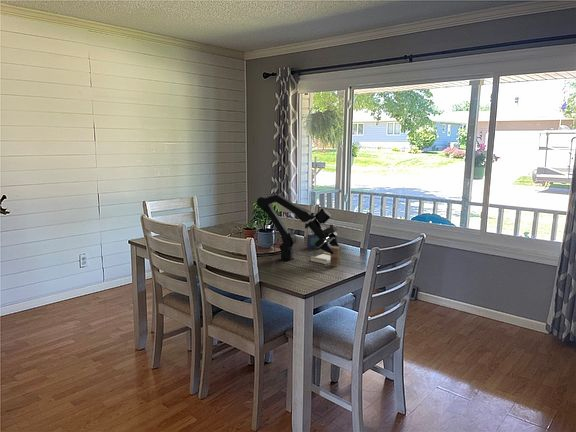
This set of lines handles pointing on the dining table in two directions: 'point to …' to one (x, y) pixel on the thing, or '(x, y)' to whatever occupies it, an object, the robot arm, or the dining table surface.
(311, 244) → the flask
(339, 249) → the walnut block
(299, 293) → the dining table surface
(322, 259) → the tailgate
